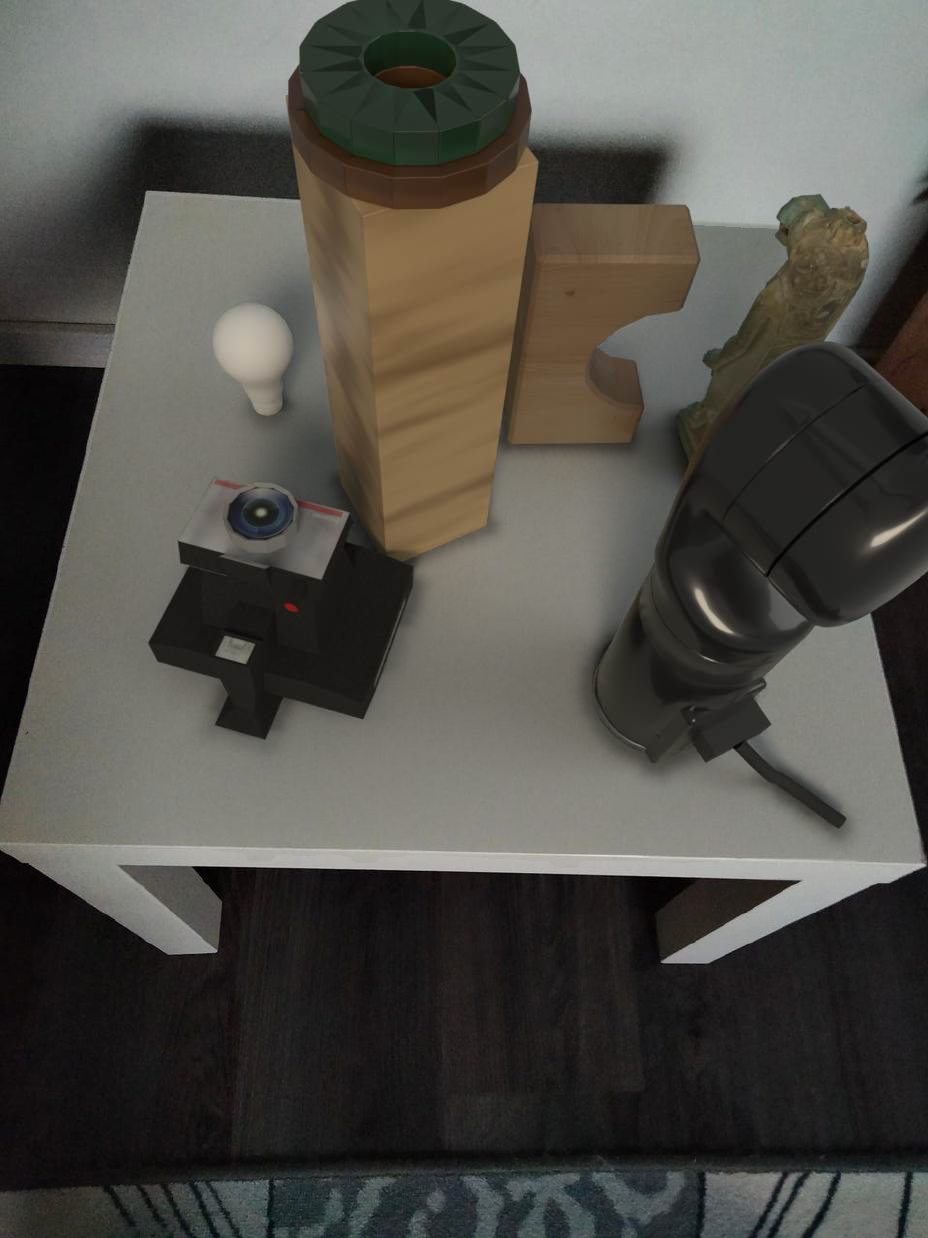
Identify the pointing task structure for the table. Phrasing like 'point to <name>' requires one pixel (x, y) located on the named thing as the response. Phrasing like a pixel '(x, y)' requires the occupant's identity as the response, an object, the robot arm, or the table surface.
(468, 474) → the ring stack
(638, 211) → the decorative block
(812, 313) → the statue
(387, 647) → the camera
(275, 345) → the lightbulb
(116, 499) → the table surface
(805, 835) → the table surface
